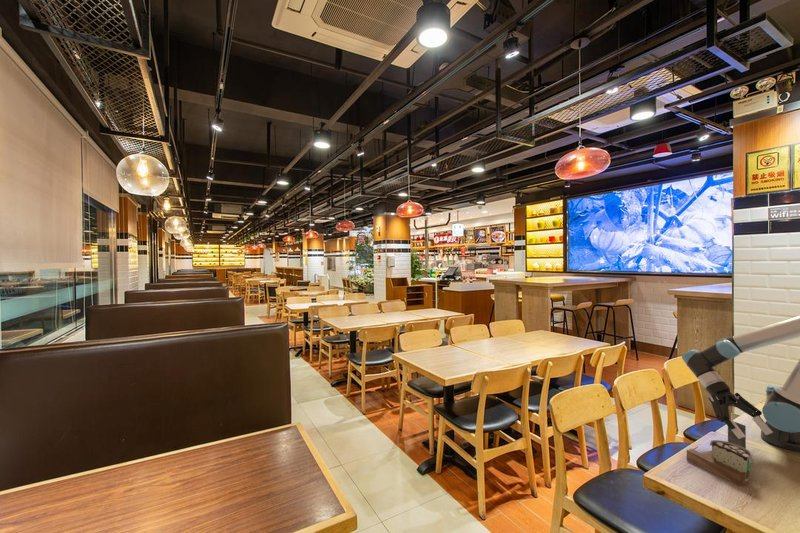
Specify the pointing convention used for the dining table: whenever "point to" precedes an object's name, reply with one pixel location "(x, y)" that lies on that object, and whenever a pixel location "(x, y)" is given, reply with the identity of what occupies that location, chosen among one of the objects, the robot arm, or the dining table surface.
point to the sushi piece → (732, 456)
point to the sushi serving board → (718, 467)
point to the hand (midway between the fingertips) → (755, 435)
